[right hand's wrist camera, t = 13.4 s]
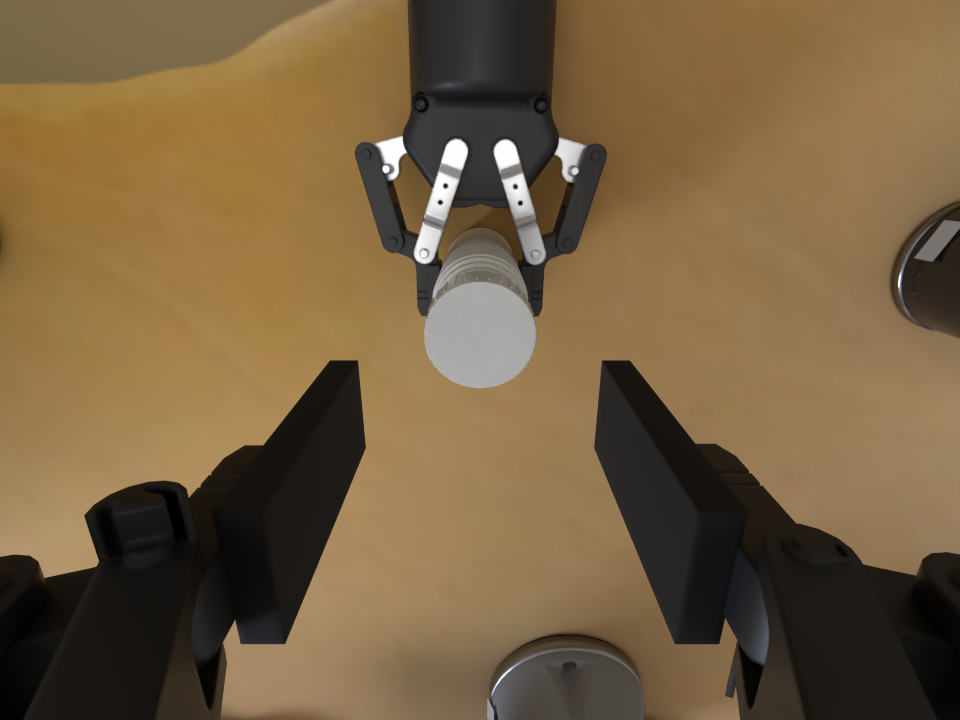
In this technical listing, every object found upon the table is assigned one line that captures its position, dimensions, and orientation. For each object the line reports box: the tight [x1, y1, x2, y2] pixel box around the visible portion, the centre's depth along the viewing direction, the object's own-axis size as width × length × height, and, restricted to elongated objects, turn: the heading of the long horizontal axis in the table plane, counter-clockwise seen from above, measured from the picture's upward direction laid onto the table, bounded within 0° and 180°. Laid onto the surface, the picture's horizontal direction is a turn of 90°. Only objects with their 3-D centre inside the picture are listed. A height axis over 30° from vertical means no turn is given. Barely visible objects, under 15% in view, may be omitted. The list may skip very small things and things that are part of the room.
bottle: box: [432, 228, 528, 300], centre depth 29 cm, size 5×5×17 cm
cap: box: [424, 270, 537, 388], centre depth 21 cm, size 4×4×2 cm
